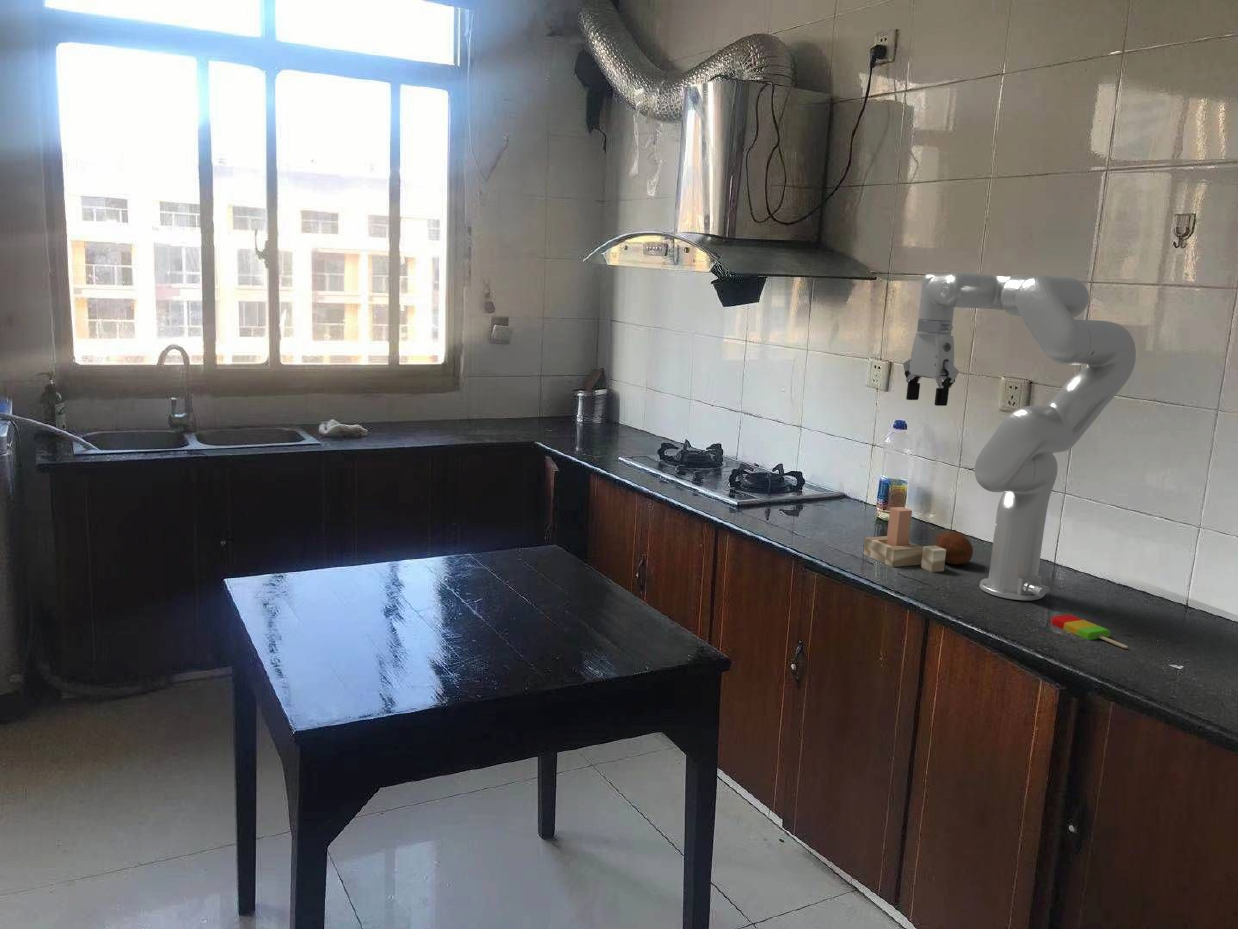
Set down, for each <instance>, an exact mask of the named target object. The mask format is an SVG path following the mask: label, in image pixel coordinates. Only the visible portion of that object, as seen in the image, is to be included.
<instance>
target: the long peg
mask: <svg viewBox="0 0 1238 929" xmlns="http://www.w3.org/2000/svg"><path fill="white" fill-rule="evenodd" d="M888 514H889V516H888V525H887V534H886V536H887V541H886V544H888V545H890V546H905V545H908V543H909V542H910V534H911V525H912V524H911V523H912V515H913V510H912V509H908V508H906V507H903V506H898V507H896V506H894V507H890V508H889V513H888Z"/></svg>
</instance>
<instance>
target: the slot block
mask: <svg viewBox="0 0 1238 929" xmlns="http://www.w3.org/2000/svg"><path fill="white" fill-rule="evenodd" d="M886 541H887V535H885V536H871V537H869V536H868V537H865V538H864V545H863V555H865V556H867V557H869V558H871V559H873V560H876V561H878V562H881V563H883V564H884V565H887V566H890V567H892V568H894V567H904V566H905V567H906V566H908V567H909V566H918V565H921V563H922V554H923V546H921V545H919V544H917V543H914V542H911V541H909V543H908V545H905V546H890V545H888V544H886Z"/></svg>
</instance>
